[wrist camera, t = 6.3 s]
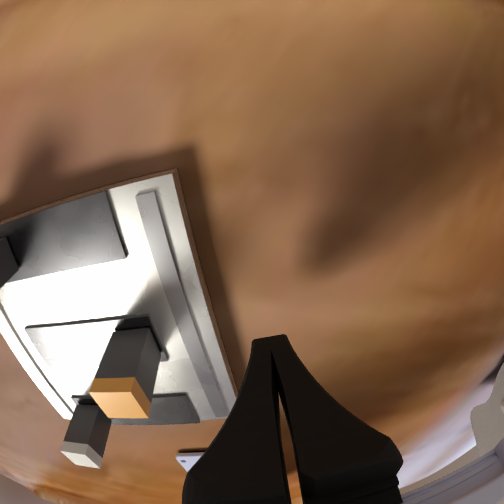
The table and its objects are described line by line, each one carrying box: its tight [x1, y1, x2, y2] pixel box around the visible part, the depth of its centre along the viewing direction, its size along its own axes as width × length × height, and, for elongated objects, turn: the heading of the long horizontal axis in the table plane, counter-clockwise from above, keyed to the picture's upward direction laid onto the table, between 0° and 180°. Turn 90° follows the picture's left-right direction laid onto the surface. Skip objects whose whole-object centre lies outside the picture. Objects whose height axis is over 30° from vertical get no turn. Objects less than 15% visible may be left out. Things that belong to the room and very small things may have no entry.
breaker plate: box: [0, 168, 239, 425], centre depth 15 cm, size 15×14×1 cm
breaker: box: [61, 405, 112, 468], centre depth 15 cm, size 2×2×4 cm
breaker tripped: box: [89, 328, 161, 418], centre depth 12 cm, size 2×2×4 cm
